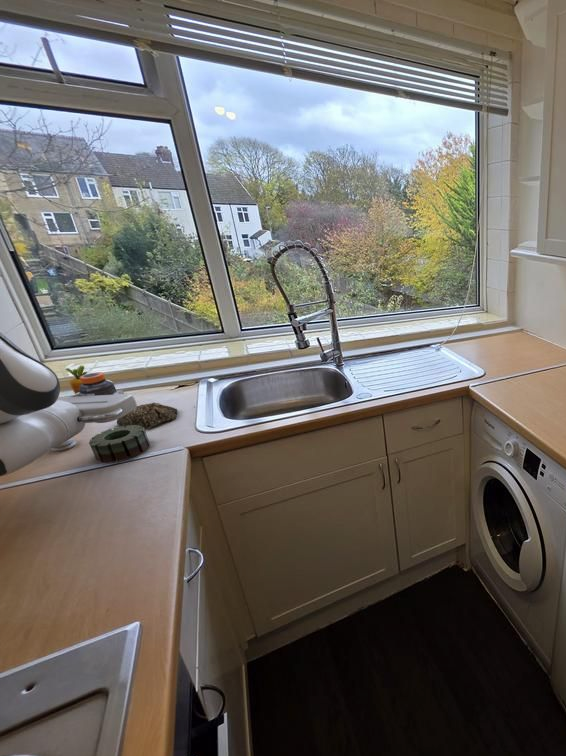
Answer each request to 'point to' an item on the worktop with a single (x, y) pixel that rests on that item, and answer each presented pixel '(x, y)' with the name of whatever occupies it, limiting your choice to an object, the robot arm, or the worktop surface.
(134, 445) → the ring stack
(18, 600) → the worktop surface
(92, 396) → the robot arm
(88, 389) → the pill bottle
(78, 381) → the carrot
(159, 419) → the bread roll
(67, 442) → the rook chess piece
